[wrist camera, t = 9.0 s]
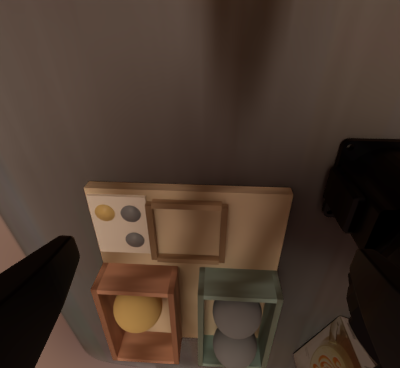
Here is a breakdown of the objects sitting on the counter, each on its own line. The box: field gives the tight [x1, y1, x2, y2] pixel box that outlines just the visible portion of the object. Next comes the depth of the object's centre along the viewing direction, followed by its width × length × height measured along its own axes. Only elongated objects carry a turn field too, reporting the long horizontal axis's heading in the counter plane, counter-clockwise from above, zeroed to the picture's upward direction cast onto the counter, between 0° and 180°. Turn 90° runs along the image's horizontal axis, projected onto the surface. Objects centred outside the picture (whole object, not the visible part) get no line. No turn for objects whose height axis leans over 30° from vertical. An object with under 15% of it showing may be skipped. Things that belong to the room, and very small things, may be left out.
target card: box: [86, 193, 151, 254], centre depth 23 cm, size 5×6×1 cm
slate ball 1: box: [213, 300, 262, 339], centre depth 25 cm, size 4×4×4 cm
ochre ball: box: [113, 295, 163, 333], centre depth 25 cm, size 4×4×4 cm
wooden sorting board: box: [84, 181, 293, 368], centre depth 25 cm, size 16×20×4 cm
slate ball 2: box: [213, 328, 257, 368], centre depth 27 cm, size 4×4×4 cm
